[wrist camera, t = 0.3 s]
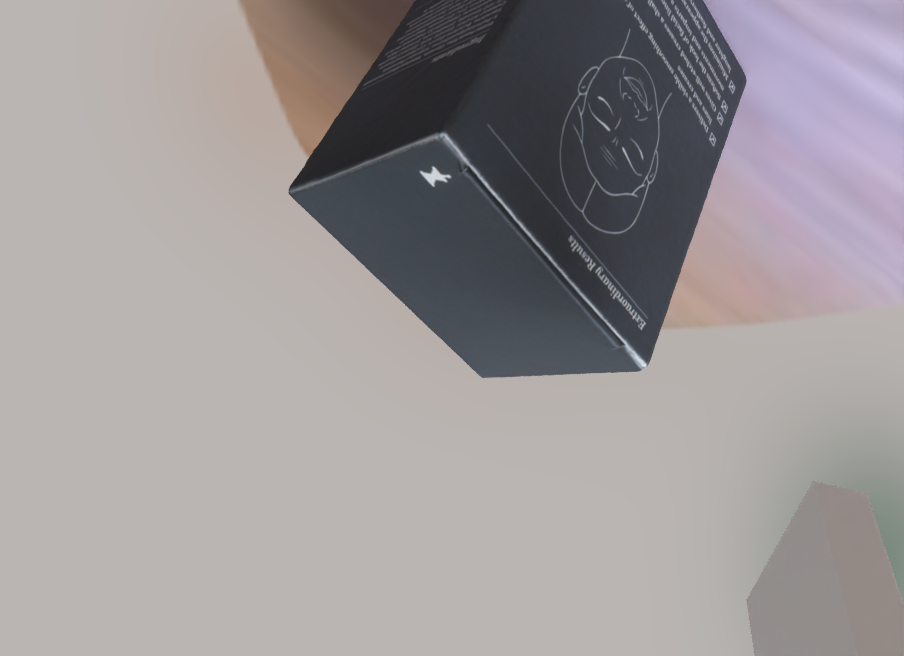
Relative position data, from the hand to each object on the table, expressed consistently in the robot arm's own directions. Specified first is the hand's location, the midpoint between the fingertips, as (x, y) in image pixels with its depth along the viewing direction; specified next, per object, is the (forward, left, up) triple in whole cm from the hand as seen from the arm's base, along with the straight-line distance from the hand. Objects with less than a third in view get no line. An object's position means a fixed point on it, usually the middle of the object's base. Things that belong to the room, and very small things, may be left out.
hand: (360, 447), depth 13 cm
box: (+4, 0, -17) cm, 17 cm away
